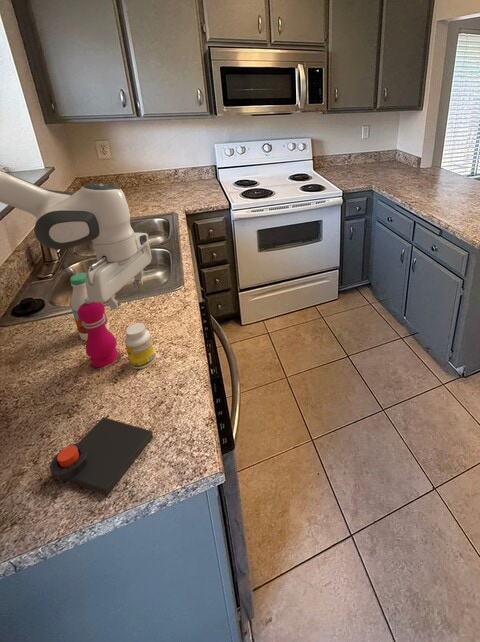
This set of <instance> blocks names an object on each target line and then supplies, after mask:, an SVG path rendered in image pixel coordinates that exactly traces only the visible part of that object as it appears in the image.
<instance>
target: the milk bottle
mask: <svg viewBox="0 0 480 642" xmlns="http://www.w3.org/2000/svg"><path fill="white" fill-rule="evenodd" d="M86 273H87V272H79V273H76V274H73V275H72V276H71V277H70V278H69V282H70V285H71V287H72V294H71V297H70V307H71V311H72V316H73V319H74V321H75V325H76V329H77V331H78V335H79V337H80V339H81V340H83V341H86V342H87V338H88V332H87V328H85V327H84V324H83V321H82V320H80V319H79V317H78V309H79V307H80V306H81V305H82V304H83V303H85V302H84V300H85V299H86V298H87V297H88V295H87V290H86V280H85V279H86ZM104 315H105V322H104V323H105V326H106V328H107V329H108V331H110V324H109V320H108V317H107V313H106V311H105V312H104Z"/></svg>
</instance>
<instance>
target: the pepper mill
mask: <svg viewBox="0 0 480 642" xmlns="http://www.w3.org/2000/svg"><path fill="white" fill-rule="evenodd" d="M84 302H85V303H83V304H82V305H81V306H80V307H79V309H78V317H79V319H80V320H82V321H83V324H84V327H85V328H87V332H88V338H87V341H86V343H85V353H86V355H87V357H89V358H90V362H91V365H92V366H93V367H96V368H103V367H106V366H108V365H111V364H112V363H113V362H114V361H115V360H116V359H117V358H118V355H119V354H118V353H119V352H118V350H117V345H118V343H117V339H116V337H115V335H114V333H112V332H111V331H110V330H108V329H107V328H106V326H105V323H104V322H105V315H104V312H105V313H106V307H105V305H104V303H99V302H92V301H90V300H89V299H88V297H87V298H86V299H85V300H84Z"/></svg>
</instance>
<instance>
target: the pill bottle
mask: <svg viewBox="0 0 480 642" xmlns="http://www.w3.org/2000/svg"><path fill="white" fill-rule="evenodd" d="M125 335H126V336H125V339H124V345H125V348H126V353H127V357H128V360H129V365H130V367H131V368H133V369H137V370H138V369H139V370H140V369H144V368H146V367H149V366H150V365H152V363H154V361H155V359H156V353H155V349H154V344H153V341H152V336H151V332H150V331H149V330H147V328H146V325H145V324H144V323H143V322H136V323H133V324H131V325H129V326H127V328H126V329H125Z"/></svg>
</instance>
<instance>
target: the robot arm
mask: <svg viewBox="0 0 480 642" xmlns="http://www.w3.org/2000/svg"><path fill="white" fill-rule="evenodd" d="M0 203H2V204H5V205H7V206H10V207H13V208H15V209H18V210H20V211H24V212H26V213H29V214H30V215H32V216H34V218H36V219H35V224H34V228H33V230H34V231H33V232H34V235H35V237H36V240H38V242H39V243H40V244H41V245H43V246H45V247H46V248H49V249H52V250H58V251H59V250H60V251H62V250H69V249H72V248H76V247H78V246H81V245H84V244H87V243H89V242H91V243H92V246H93V251H94V254H95V258H96V261H95V262H92V263H91V264H90V265H89V266H88V269H87V271H86V272H85V273H86V279H85V280H86V290H87V295H88V299H89V300H90V301H92V302H99V303H103V304H104V303H108V304H109V308H110V309H111V310H118V308H119V307H121V305H122V303H121V300H120V299H116V294H117V293H118V292H119V291H120V290H121V289H122V288H123V287H125V285H127V284H128V283H129V282H130V281H132V280H133V281H132V285H133V288H135V289H136V288H138V289H140V288H141V287H142V286H143V285H144V281H143V278H144V273H145V272H144V269H145V268H146V267H147V266H148V265H150V264H151V263H152V259H153V257H152V249H151V246H150V243H149V234H148V233H147V232H135V231H134V229H133V228H132V226H131V213H130V209H129V204H128V201H127V198H126V196H125V193H124V192H123V190H122V189H121V187H120V186H118V185H117V184H115V183H110V182H103V181H96V182H89V183H86V184H85V183H84V184H83V185H82V186H81V187H80V189H78V190H77V191H75V192H70V191H63V190H54V189H49V188H45V187H43V186H40V185H37V184H35V183H32V182H30V181H28V180H25V179H23V178H21V177H19V176H16V175H14V174H11V173H8V172H7V171H4V170H2V169H0Z"/></svg>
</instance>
